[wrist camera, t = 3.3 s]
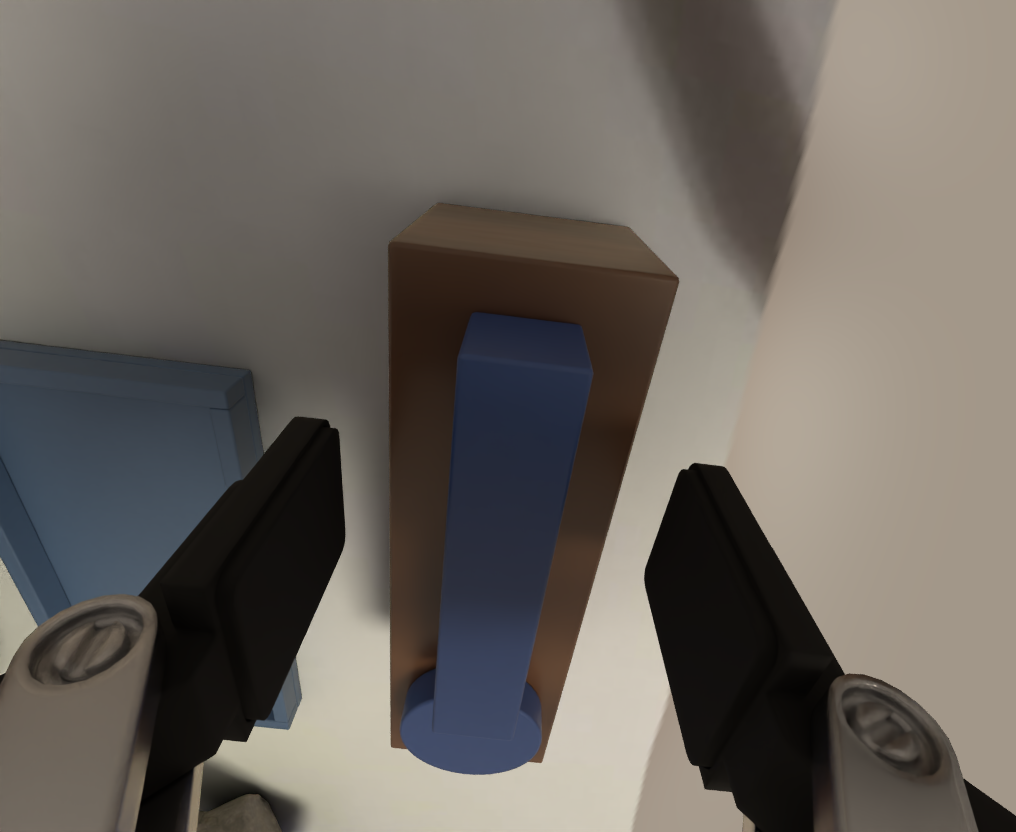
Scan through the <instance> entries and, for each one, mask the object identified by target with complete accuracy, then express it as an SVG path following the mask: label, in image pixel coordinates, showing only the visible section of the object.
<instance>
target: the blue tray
mask: <svg viewBox="0 0 1016 832" xmlns="http://www.w3.org/2000/svg"><path fill="white" fill-rule="evenodd" d="M263 455H264V453H263V447H262V440H261V434H260V427H259V421H258V415H257V408H256V402H255V396H254V389H253V383H252V376H251V371H250V370H244V369H235V368H227V367H219V366H210V365H202V364H194V363H185V362H177V361H169V360H160V359H152V358H144V357H135V356H127V355H119V354H110V353H102V352H93V351H85V350H77V349H68V348H60V347H52V346H43V345H35V344H27V343H18V342H10V341H2V340H0V557H1V559H2V561H3V563H4V564H5V566H6V568H7V570H8V572H9V574H10V576H11V577H12V579H13V581H14V583H15V585H16V587H17V588H18V590H19V592H20V594H21V596H22V598H23V600H24V601H25V603H26V605H27V607H28V609H29V611H30V612H31V614H32V616H33V618H34V620H35V622H36V624H37V625H38V627H39V626H40V625H41V624H42V623H44V622H45V621H47V620H48V619H50V618H51V617H53V616H54V615H56V614H57V613H59V612H60V611H62V610H65V609H67V608H69V607H71V606H73V605H76V604H78V603H80V602H82V601H86V600H89V599H93V598H96V597H100V596H104V595H116V594H127V595H133V596H138V595H139V594H140V593H141V592H142V591H143V589H144V588H145V587H146V586H147V585H148V583H149V582H150V581H151V580H152V579H153V577H154V576H155V575H156V574H157V573H158V571H159V570H160V569H161V568H162V567H163V565H164V564H165V563H166V562H167V561H168V559H169V558H170V557H171V556H172V555H173V553H174V552H175V551H176V550H177V549H178V547H179V546H180V545H181V544H182V543H183V542H184V540H185V539H186V538H187V537H188V536H189V534H190V533H191V532H192V531H193V530H194V528H195V527H196V526H197V525H198V524H199V522H200V521H201V520H202V519H203V518H204V516H205V515H206V514H207V513H208V512H209V510H210V509H211V508H212V507H213V506H214V504H215V503H216V502H217V501H218V500H219V498H220V497H221V496H222V495H223V494H224V493H225V491H226V490H227V489H228V488H229V487H230V486H231V485H232V484H233V483H234V482H235V481H238V480H243V479H244V478H245V477H246V476H247V474H248V473H249V472H250V471H251V469H252V468H253V467H254V466H255V464H256V463H257V462H258V461H259V460H260V458H261V457H262V456H263ZM301 699H302V695H301V689H300V683H299V676H298V670H297V663H296V657H295V659H294V662H293V664H292V666H291V668H290V671H289V673H288V675H287V677H286V680H285V682H284V684H283V686H282V689H281V691H280V693H279V695H278V698H277V700H276V702H275V705H274V707H273V709H272V711H271V713H270V715H269V716H268V718H267V719H266V720H264V721H261V720H256V722H255V725H254V726H257V727H267V728H276V729H286V730H289V729H290V726H291V724H292V721H293V719H294V716H295V714H296V711H297V707H298V706H299V704H300V702H301Z"/></svg>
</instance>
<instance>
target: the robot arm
mask: <svg viewBox="0 0 1016 832" xmlns="http://www.w3.org/2000/svg"><path fill="white" fill-rule="evenodd" d="M344 543H345V517H344V501H343V486H342V470H341V455H340V439H339V432H338V429H336V428H330V424H329V422H328V421H327V420H325V419H316V418H308V417H299V416H297V417H294V418H293V419H292V420H291V421H290V423H289V424H288V425H287V426H286V428H285V429H284V430H283V431H282V433H281V434H280V435H279V436H278V437H277V439H276V440H275V441H274V442H273V444H272V445H271V446H270V447H269V448H268V450H267V451H266V452H265V453H264V455H263V456H262V457H261V458H260V460H259V461H258V462H257V463H256V464H255V466H254V467H253V468H252V469H251V471H250V472H249V473H248V474H247V476H246V477H245V478H244V479H243V480H238V481H235V482H234V483H233V484H232V485H231V486H230V487H229V488H228V489H227V490H226V491H225V493H224V494H223V495H222V496H221V497H220V498H219V500H218V501H217V502H216V503H215V504H214V506H213V507H212V508H211V509H210V510H209V512H208V513H207V514H206V515H205V516H204V518H203V519H202V520H201V521H200V522H199V524H198V525H197V526H196V527H195V528H194V530H193V531H192V532H191V533H190V534H189V536H188V537H187V538H186V539H185V540H184V542H183V543H182V544H181V545H180V546H179V547H178V549H177V550H176V551H175V552H174V553H173V555H172V556H171V557H170V558H169V559H168V561H167V562H166V563H165V564H164V565H163V567H162V568H161V569H160V570H159V571H158V573H157V574H156V575H155V576H154V577H153V579H152V580H151V581H150V582H149V583H148V585H147V586H146V587H145V588H144V589H143V591H142V592H141V593H140V594H139V595H138V596H133V595H127V594H116V595H104V596H100V597H96V598H93V599H89V600H86V601H82V602H80V603H78V604H76V605H73V606H71V607H69V608H67V609H65V610H62V611H60V612H59V613H57V614H56V615H54V616H53V617H51V618H50V619H48V620H47V621H45V622H44V623H42V624H41V625H40V626H39V627H38V628H37V629H35V630H34V631H33V632H32V633H31V634H30V635H29V636H28V637H27V638H26V639H25V640H24V641H23V643H22V644H21V646H20V647H19V649H18V650H17V652H16V653H15V655H14V656H13V658H12V660H11V663H10V665H9V667H8V669H7V671H6V673H5V674H2V675H0V832H197V824H198V814H199V804H200V795H201V785H202V775H203V765H204V761H206V760H207V759H209V758H210V757H212V756H214V755H215V754H216V753H217V751H218V749H219V747H220V745H221V743H222V741H223V740H231V741H241V742H247V740H248V738H249V735H250V733H251V731H252V729H253V727H254V725H255V722H256V720H261V721H264V720H266V719H267V718H268V716H269V715H270V713H271V711H272V709H273V707H274V705H275V702H276V700H277V698H278V695H279V693H280V691H281V689H282V686H283V684H284V682H285V680H286V677H287V675H288V673H289V671H290V668H291V666H292V664H293V662H294V659H295V657H296V655H297V653H298V650H299V648H300V646H301V644H302V641H303V639H304V637H305V635H306V632H307V630H308V628H309V626H310V623H311V621H312V619H313V617H314V614H315V612H316V610H317V608H318V605H319V603H320V601H321V599H322V596H323V594H324V592H325V590H326V587H327V585H328V583H329V581H330V578H331V576H332V574H333V571H334V569H335V567H336V565H337V562H338V560H339V558H340V556H341V553H342V551H343V547H344ZM644 581H645V588H646V592H647V596H648V600H649V604H650V608H651V612H652V616H653V620H654V624H655V629H656V633H657V637H658V641H659V645H660V649H661V653H662V657H663V661H664V665H665V669H666V673H667V677H668V681H669V685H670V689H671V693H672V697H673V701H674V705H675V709H676V713H677V717H678V721H679V725H680V729H681V733H682V737H683V741H684V745H685V749H686V753H687V756H688V759H689V761H690V763H691V764H692V765H694V766H699V769H700V772H701V776H702V780H703V784H704V788H705V789H707V790H717V791H727V792H732V793H733V796H734V800H735V803H736V806H737V808H738V809H739V810H740V811H741V812H742V813H743V828H742V832H1016V816H1015V815H1014V814H1012V813H1011V812H1010V811H1008V810H1007V809H1006V808H1004V807H1003V806H1001V805H1000V804H999V803H997V802H996V801H994V800H992V798H990V797H989V796H987V795H986V794H985V793H983V792H982V791H980V790H979V789H977V788H976V787H975V786H973V785H972V784H970V783H969V782H968V781H966V780H965V779H963V777H962V773H961V770H960V766H959V763H958V760H957V757H956V754H955V752H954V750H953V748H952V745H951V743H950V741H949V738H948V737H947V736H946V734H945V733H944V732H943V730H942V729H941V727H940V726H939V725H938V723H937V722H936V721H935V720H934V719H933V718H932V717H931V716H930V715H929V714H928V713H927V712H926V711H925V710H924V709H923V708H922V707H921V706H920V705H919V704H918V703H917V702H916V701H914V700H913V699H911V698H910V697H909V696H907V695H906V694H905V693H903V692H902V691H901V690H899V689H897V688H895V687H893V686H891V685H890V684H888V683H886V682H884V681H882V680H879V679H876V678H873V677H870V676H867V675H863V674H846V675H845V674H844V672H843V670H842V668H841V667H840V665H839V663H838V662H837V660H836V658H835V656H834V654H833V653H832V651H831V649H830V647H829V646H828V644H827V642H826V640H825V639H824V637H823V635H822V633H821V632H820V630H819V628H818V626H817V625H816V623H815V621H814V619H813V618H812V616H811V614H810V613H809V611H808V609H807V607H806V606H805V604H804V602H803V600H802V599H801V597H800V595H799V593H798V592H797V590H796V588H795V587H794V585H793V583H792V581H791V579H790V578H789V576H788V574H787V572H786V571H785V569H784V567H783V565H782V564H781V562H780V560H779V558H778V557H777V555H776V553H775V551H774V550H773V548H772V547H771V545H770V544H769V542H768V540H767V538H766V537H765V535H764V533H763V532H762V530H761V528H760V526H759V525H758V523H757V521H756V519H755V517H754V516H753V514H752V513H751V510H750V509H749V507H748V505H747V503H746V502H745V500H744V498H743V496H742V495H741V493H740V491H739V489H738V488H737V486H736V484H735V483H734V481H733V479H732V477H731V475H730V474H729V472H728V470H727V469H726V468H725V467H723V466H716V465H707V464H699V463H694V464H692V465H691V466H690V467H689V469H688V470H686V469H683V470H681V471H680V472H679V475H678V477H677V480H676V483H675V485H674V488H673V491H672V494H671V497H670V500H669V503H668V505H667V508H666V511H665V514H664V517H663V520H662V522H661V525H660V528H659V531H658V534H657V537H656V539H655V542H654V545H653V548H652V551H651V554H650V556H649V559H648V562H647V565H646V568H645V575H644Z"/></svg>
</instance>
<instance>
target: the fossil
mask: <svg viewBox="0 0 1016 832" xmlns="http://www.w3.org/2000/svg"><path fill="white" fill-rule="evenodd" d="M197 832H282V830H281V829H280V827H279V824H278V822H277V820H276V818H275V816H274V814H273V812H272V810H271V807H270V804H269V803H268V802H267V801H266V800H265V799H263V798H262V797H261V796H260V795H259V794H255V795H254V794H246V795H243V796H240V797H238V798H236V799H234V800H232V801H229V802H227V803H225V804H223V805H221V806H220V807H217V808H215V809H213V810H210V811H207V812H204V811H199V814H198V824H197Z"/></svg>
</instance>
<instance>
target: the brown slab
mask: <svg viewBox="0 0 1016 832" xmlns="http://www.w3.org/2000/svg"><path fill="white" fill-rule="evenodd" d="M678 284H679V278H678V277H677V276H676V275H675V274H674V273H673V272H672V271H671V270H670V269H669V268H668V267H667V266H666V265H665V264H664V263H663V262H662V260H661V259H660V258H659V257H658V256H657V255H656V254H655V253H654V252H653V251H652V250H651V249H650V248H649V247H648V246H647V245H646V244H645V243H644V242H643V241H642V240H641V239H640V238H639V237H638V236H637V235H636V234H635V233H634V232H633V231H632V230H631V229H630V228H629V227H624V226H616V225H608V224H600V223H593V222H585V221H577V220H569V219H561V218H554V217H546V216H538V215H530V214H522V213H515V212H507V211H499V210H491V209H483V208H475V207H468V206H460V205H452V204H444V203H437V204H435V205H434V206H433V207H432V208H430V209H429V210H428V211H427V212H425V213H424V214H423V215H422V216H421V217H419V218H418V219H417V220H416V221H414V222H413V223H412V224H411V225H409V226H408V227H407V228H406V229H405V230H403V231H402V232H401V233H400V234H398V235H397V236H396V237H395V238H394V239H392V240H391V241H390V242H389V244H388V330H389V517H390V705H391V747H393V748H401V749H407V748H406V746H405V745H404V743H403V741H402V739H401V736H400V722H401V718H402V713H403V709H404V704H405V700H406V695H407V692H408V690H409V688H410V687H411V685H412V684H413V682H414V681H415V680H416V679H417V678H419V677H420V676H421V675H423V674H425V673H426V672H428V671H430V670H433V669H435V668H436V661H437V647H438V632H439V618H440V603H441V589H442V574H443V560H444V545H445V531H446V516H447V502H448V488H449V473H450V459H451V444H452V430H453V415H454V401H455V386H456V372H457V357H458V354H459V351H460V348H461V345H462V342H463V338H464V335H465V332H466V329H467V326H468V323H469V320H470V316H471V315H472V313H474V312H480V313H488V314H496V315H504V316H512V317H520V318H528V319H537V320H545V321H553V322H561V323H569V324H577V325H580V326H582V329H583V333H584V337H585V341H586V345H587V349H588V353H589V357H590V361H591V365H592V369H593V373H594V374H593V379H592V383H591V388H590V392H589V397H588V401H587V406H586V410H585V415H584V420H583V424H582V429H581V433H580V438H579V442H578V447H577V451H576V456H575V460H574V465H573V470H572V474H571V479H570V483H569V488H568V492H567V497H566V501H565V506H564V510H563V515H562V520H561V524H560V529H559V533H558V538H557V542H556V547H555V551H554V556H553V560H552V565H551V570H550V574H549V579H548V583H547V588H546V592H545V597H544V601H543V606H542V610H541V615H540V620H539V624H538V629H537V633H536V638H535V642H534V647H533V651H532V656H531V660H530V665H529V670H528V674H527V679H526V682H527V683H528V684H529V685H530V686H532V688H533V689H534V690H535V691H536V693H537V695H538V697H539V699H540V703H541V717H542V741H541V745H540V747H539V750H538V752H537V753H536V755H535V756H534V757H533V758H532V759H531V760H529V761H528V762H536V763H541V762H542V761H543V757H544V754H545V750H546V747H547V743H548V740H549V736H550V733H551V729H552V726H553V722H554V719H555V715H556V712H557V708H558V705H559V701H560V698H561V694H562V691H563V687H564V684H565V680H566V677H567V673H568V670H569V666H570V663H571V659H572V656H573V652H574V649H575V645H576V642H577V638H578V635H579V631H580V628H581V624H582V621H583V617H584V614H585V610H586V607H587V603H588V600H589V596H590V593H591V589H592V586H593V582H594V579H595V575H596V572H597V568H598V565H599V561H600V558H601V554H602V551H603V547H604V544H605V540H606V537H607V533H608V530H609V526H610V523H611V519H612V516H613V512H614V509H615V505H616V502H617V498H618V494H619V491H620V487H621V484H622V480H623V477H624V473H625V470H626V466H627V463H628V459H629V456H630V452H631V449H632V445H633V442H634V438H635V435H636V431H637V428H638V424H639V421H640V417H641V414H642V410H643V407H644V403H645V400H646V396H647V393H648V389H649V386H650V382H651V379H652V375H653V372H654V368H655V365H656V361H657V358H658V354H659V351H660V347H661V344H662V340H663V337H664V333H665V330H666V326H667V323H668V319H669V316H670V312H671V309H672V305H673V302H674V298H675V295H676V291H677V288H678Z"/></svg>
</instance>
